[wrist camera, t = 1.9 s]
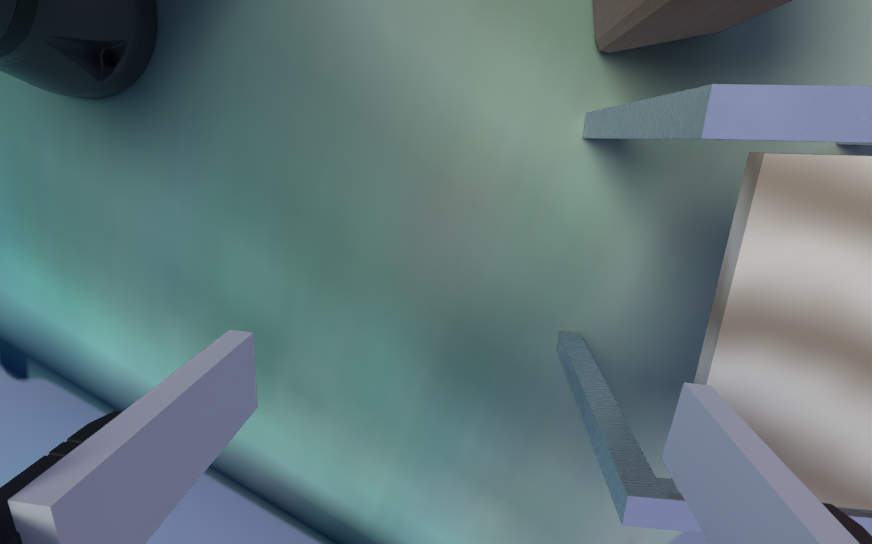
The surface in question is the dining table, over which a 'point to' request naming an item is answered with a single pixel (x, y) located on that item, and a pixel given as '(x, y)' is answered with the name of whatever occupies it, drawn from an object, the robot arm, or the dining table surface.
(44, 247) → the dining table surface
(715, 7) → the block
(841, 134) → the frame
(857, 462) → the trapdoor
